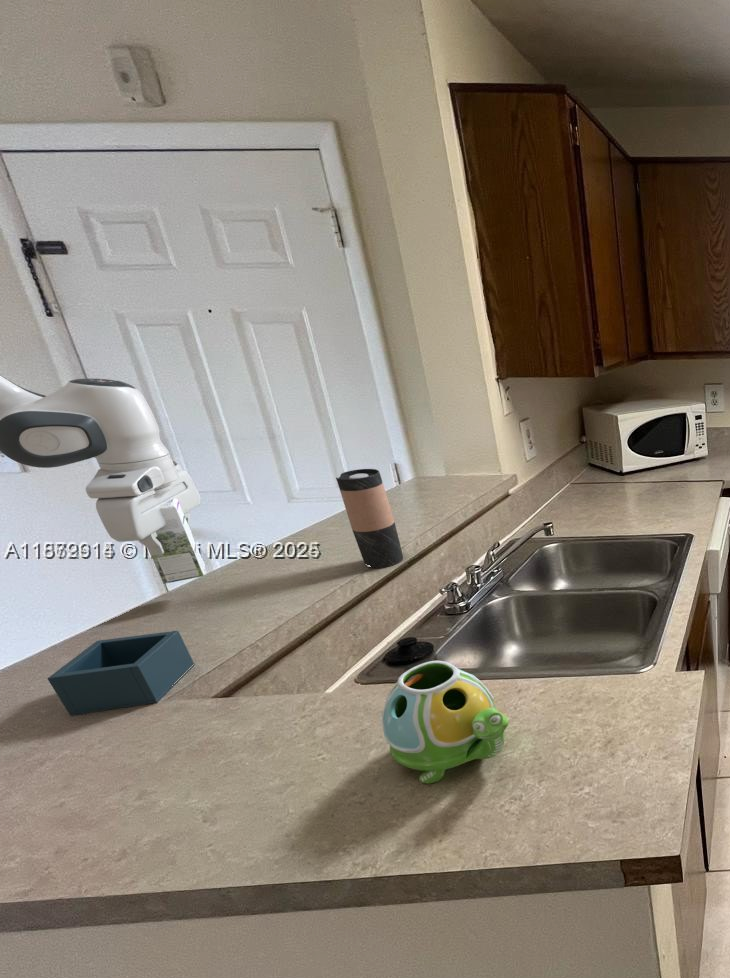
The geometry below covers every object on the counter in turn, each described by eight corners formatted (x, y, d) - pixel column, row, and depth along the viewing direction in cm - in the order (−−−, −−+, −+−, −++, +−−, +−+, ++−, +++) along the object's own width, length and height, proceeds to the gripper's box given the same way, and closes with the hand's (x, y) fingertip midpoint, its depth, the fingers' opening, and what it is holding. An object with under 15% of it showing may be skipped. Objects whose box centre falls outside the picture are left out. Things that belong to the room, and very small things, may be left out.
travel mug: (412, 559, 135) (387, 472, 126) (375, 572, 129) (347, 481, 120) (393, 551, 138) (367, 466, 130) (356, 564, 132) (327, 475, 124)
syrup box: (206, 566, 119) (177, 495, 113) (205, 577, 115) (174, 504, 109) (165, 574, 116) (133, 501, 110) (163, 585, 112) (129, 510, 106)
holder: (69, 715, 87) (46, 678, 84) (116, 675, 95) (97, 640, 93) (157, 702, 90) (137, 666, 87) (195, 664, 98) (178, 630, 96)
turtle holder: (468, 811, 72) (444, 732, 67) (372, 762, 79) (345, 687, 74) (549, 745, 82) (533, 672, 77) (458, 706, 89) (438, 637, 84)
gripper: (154, 458, 115) (183, 526, 121) (76, 492, 98) (114, 570, 103) (196, 456, 117) (222, 523, 123) (127, 489, 99) (161, 565, 105)
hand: (172, 545), depth 113 cm, fingers closed on syrup box, 7 cm apart
